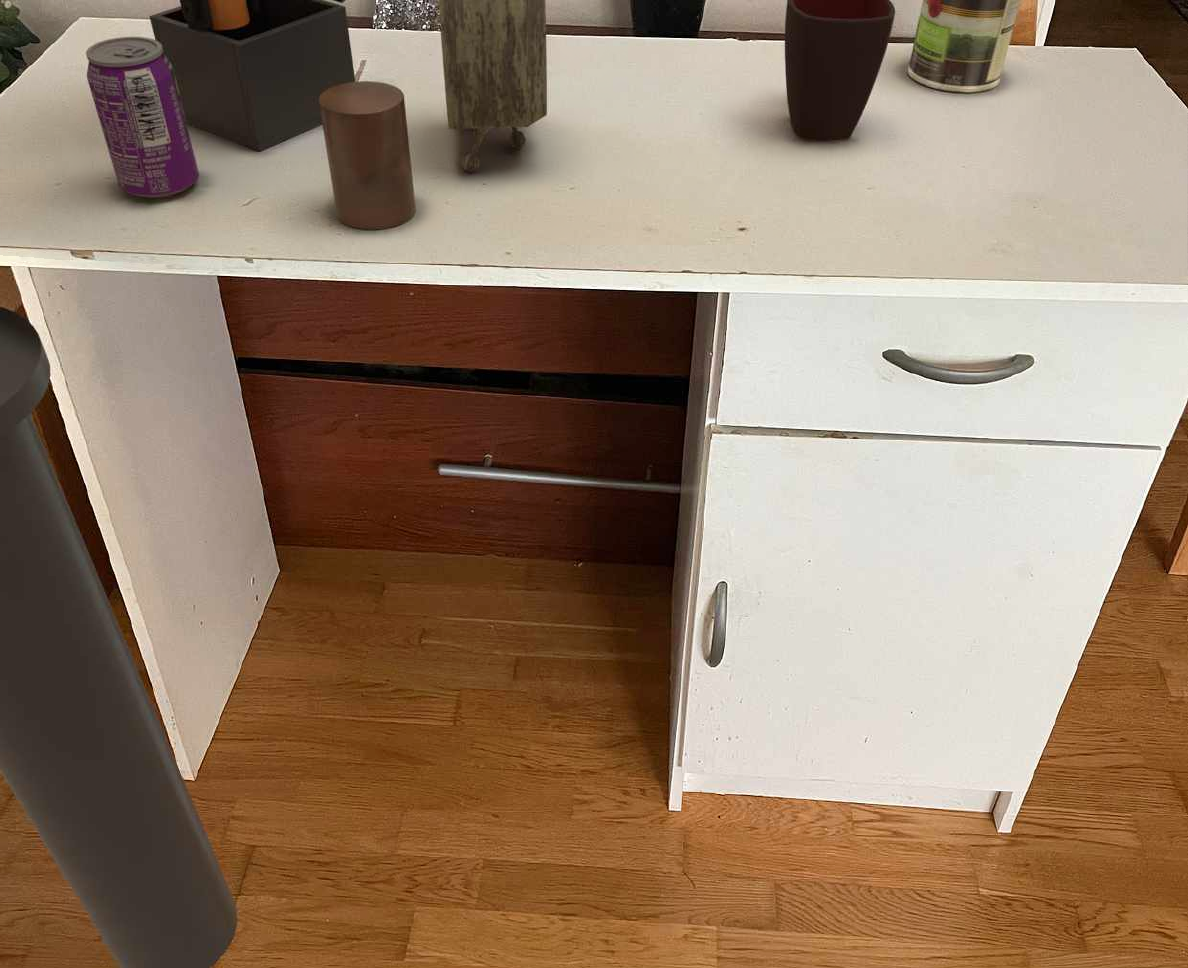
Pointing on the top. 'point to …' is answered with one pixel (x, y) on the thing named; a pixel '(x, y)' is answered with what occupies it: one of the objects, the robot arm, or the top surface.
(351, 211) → the stand
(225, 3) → the cylinder
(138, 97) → the beverage can
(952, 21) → the coffee can
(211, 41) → the open storage bin
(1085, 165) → the top surface
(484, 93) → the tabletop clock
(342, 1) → the lid
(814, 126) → the cup
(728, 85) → the top surface
